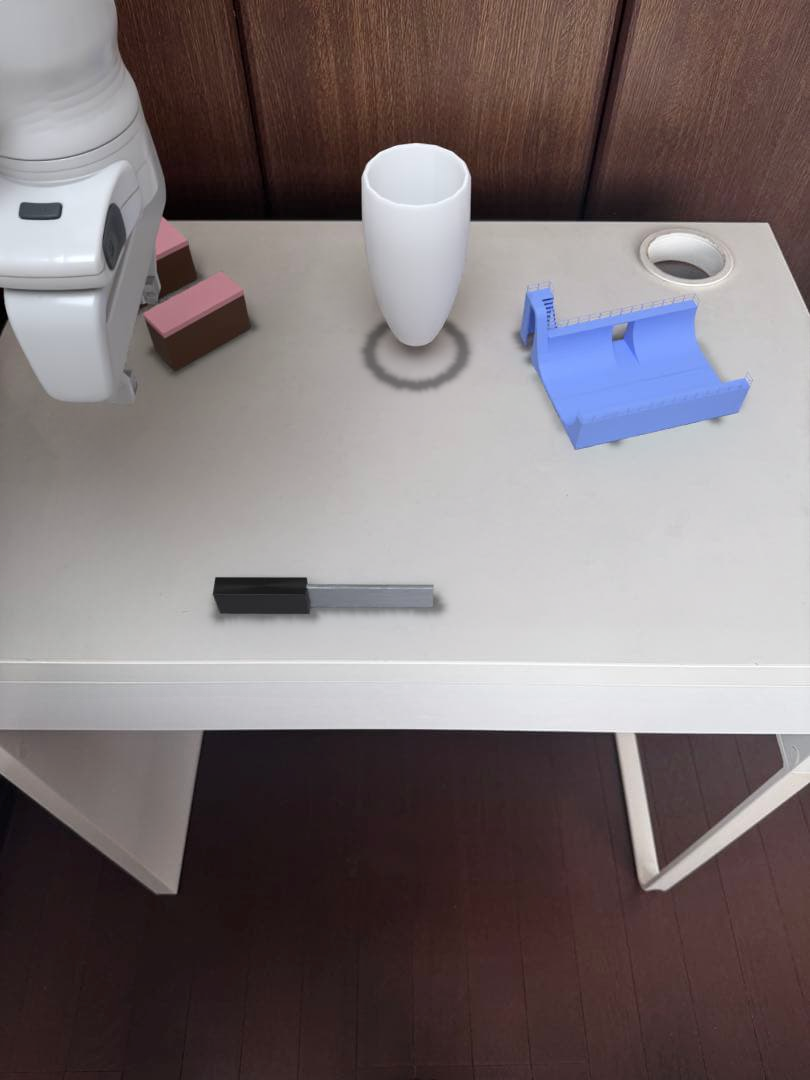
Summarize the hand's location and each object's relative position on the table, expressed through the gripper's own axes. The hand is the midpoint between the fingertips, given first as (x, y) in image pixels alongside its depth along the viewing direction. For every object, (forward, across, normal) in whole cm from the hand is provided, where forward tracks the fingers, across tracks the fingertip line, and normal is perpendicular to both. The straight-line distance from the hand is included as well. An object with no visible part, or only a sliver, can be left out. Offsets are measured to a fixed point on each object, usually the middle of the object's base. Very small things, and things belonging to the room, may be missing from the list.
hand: (136, 345), depth 60 cm
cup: (+26, -26, +19) cm, 41 cm away
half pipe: (+26, -22, +42) cm, 54 cm away
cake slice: (+26, -27, -4) cm, 38 cm away
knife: (+26, +6, +11) cm, 29 cm away
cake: (+26, -36, -12) cm, 46 cm away
